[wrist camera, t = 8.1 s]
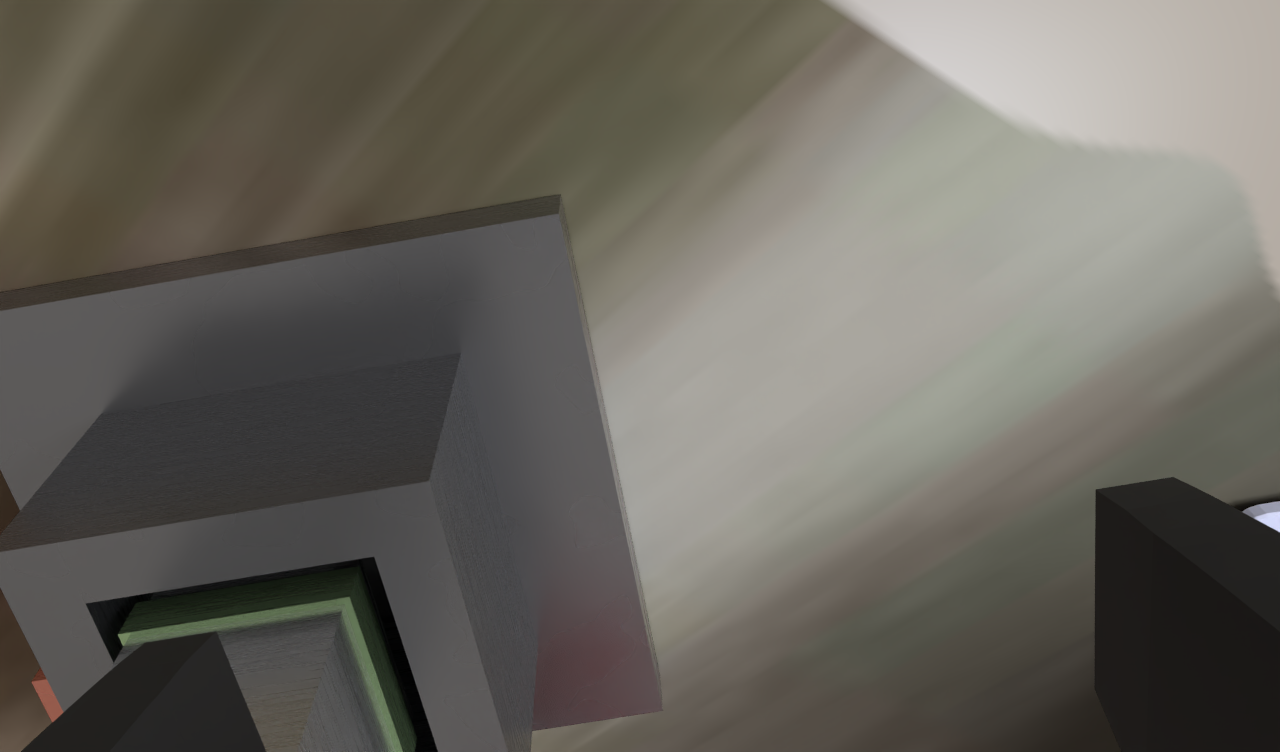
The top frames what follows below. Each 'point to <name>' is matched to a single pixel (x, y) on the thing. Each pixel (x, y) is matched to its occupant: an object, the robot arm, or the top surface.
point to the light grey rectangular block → (295, 655)
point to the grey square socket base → (337, 461)
